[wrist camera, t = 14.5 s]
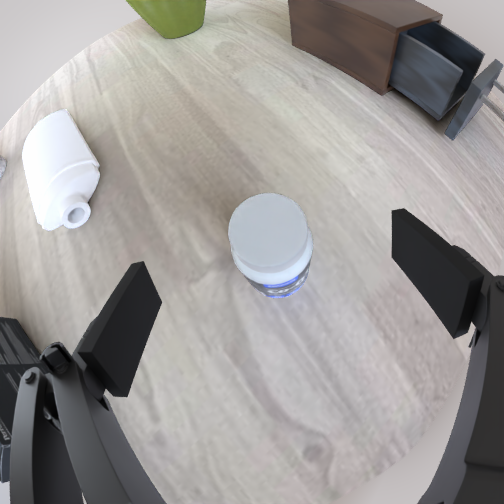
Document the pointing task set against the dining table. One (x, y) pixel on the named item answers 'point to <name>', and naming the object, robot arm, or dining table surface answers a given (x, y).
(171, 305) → the dining table surface
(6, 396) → the box
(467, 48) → the drawer
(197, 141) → the dining table surface
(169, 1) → the flower pot
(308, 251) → the pill bottle
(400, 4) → the cabinet
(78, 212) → the squeeze bottle
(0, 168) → the mug
